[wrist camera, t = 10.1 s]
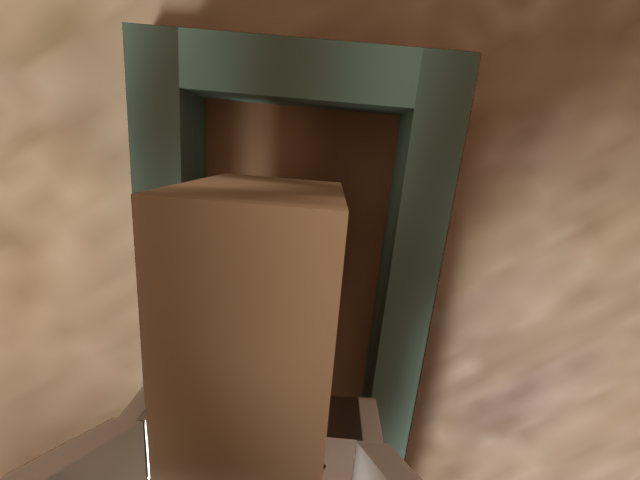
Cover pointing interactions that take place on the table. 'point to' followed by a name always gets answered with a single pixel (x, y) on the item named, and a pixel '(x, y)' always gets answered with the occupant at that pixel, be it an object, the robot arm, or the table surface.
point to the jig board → (322, 166)
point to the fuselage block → (238, 324)
